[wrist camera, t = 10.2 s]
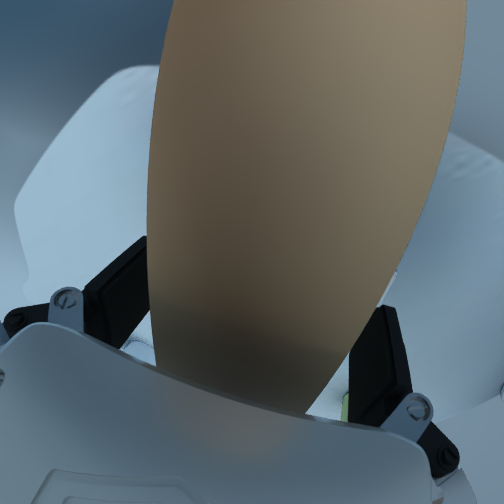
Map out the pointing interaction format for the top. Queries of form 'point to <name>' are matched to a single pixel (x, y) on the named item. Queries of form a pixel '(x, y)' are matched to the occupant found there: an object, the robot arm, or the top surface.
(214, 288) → the walnut bar
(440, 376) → the top surface
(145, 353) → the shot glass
